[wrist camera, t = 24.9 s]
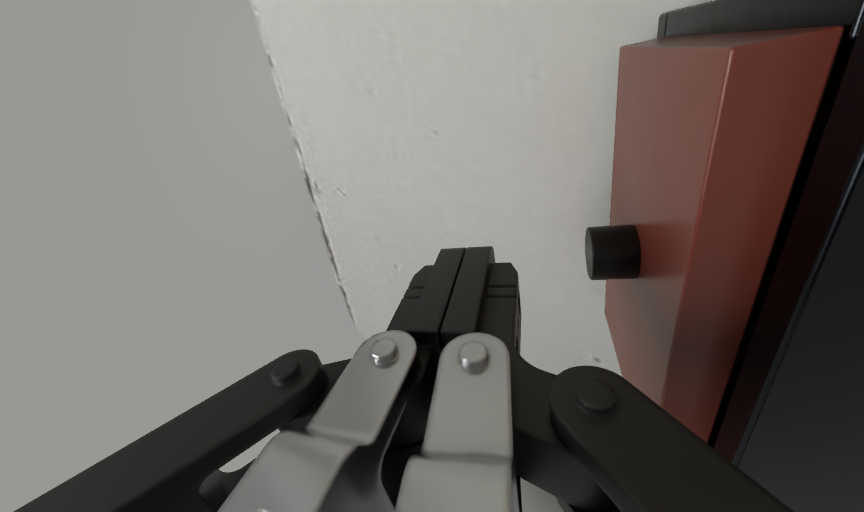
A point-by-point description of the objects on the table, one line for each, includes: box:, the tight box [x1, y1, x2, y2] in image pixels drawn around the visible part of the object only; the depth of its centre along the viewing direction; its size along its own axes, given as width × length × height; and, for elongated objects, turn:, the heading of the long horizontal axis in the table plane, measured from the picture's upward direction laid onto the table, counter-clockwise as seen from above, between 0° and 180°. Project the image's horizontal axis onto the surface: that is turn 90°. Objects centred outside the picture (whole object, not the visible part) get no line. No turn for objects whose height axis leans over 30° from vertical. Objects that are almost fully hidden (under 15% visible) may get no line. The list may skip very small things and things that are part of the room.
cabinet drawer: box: [585, 25, 854, 444], centre depth 8 cm, size 12×10×7 cm
